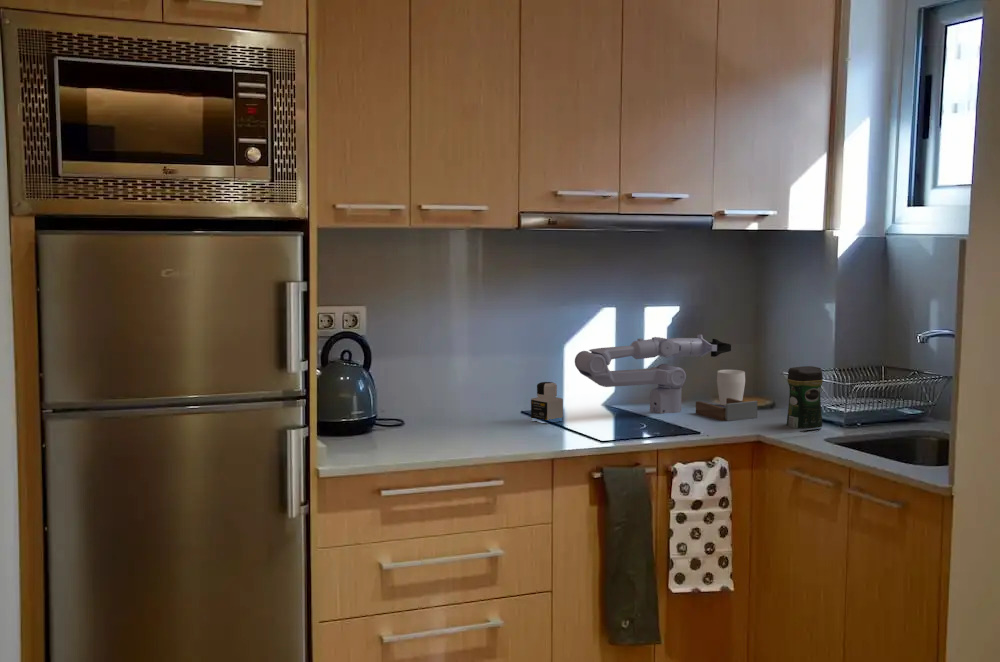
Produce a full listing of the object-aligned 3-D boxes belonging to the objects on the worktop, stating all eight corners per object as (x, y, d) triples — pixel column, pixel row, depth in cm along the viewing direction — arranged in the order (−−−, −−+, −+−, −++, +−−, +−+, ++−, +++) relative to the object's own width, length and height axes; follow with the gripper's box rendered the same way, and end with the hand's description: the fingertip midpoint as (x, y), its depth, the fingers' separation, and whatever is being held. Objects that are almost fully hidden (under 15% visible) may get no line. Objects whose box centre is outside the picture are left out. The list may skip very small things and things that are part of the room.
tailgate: (727, 422, 292) (727, 404, 291) (725, 421, 293) (725, 404, 292) (757, 418, 297) (757, 401, 296) (755, 418, 298) (755, 400, 297)
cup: (728, 404, 326) (728, 368, 324) (750, 408, 319) (751, 371, 318) (710, 407, 320) (711, 371, 319) (733, 411, 313) (734, 374, 312)
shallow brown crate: (722, 424, 293) (722, 408, 292) (695, 417, 304) (695, 401, 304) (756, 420, 298) (756, 404, 298) (729, 413, 310) (729, 398, 309)
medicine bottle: (530, 421, 301) (530, 382, 300) (547, 418, 306) (546, 380, 304) (547, 424, 296) (546, 385, 294) (563, 421, 300) (563, 382, 299)
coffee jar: (809, 425, 290) (811, 363, 288) (826, 431, 283) (828, 367, 281) (781, 428, 287) (782, 365, 285) (797, 433, 280) (799, 369, 278)
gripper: (699, 335, 302) (737, 335, 307) (674, 333, 316) (710, 334, 321) (699, 357, 302) (736, 357, 307) (674, 355, 316) (710, 355, 321)
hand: (723, 347), depth 314 cm, fingers open, 7 cm apart
